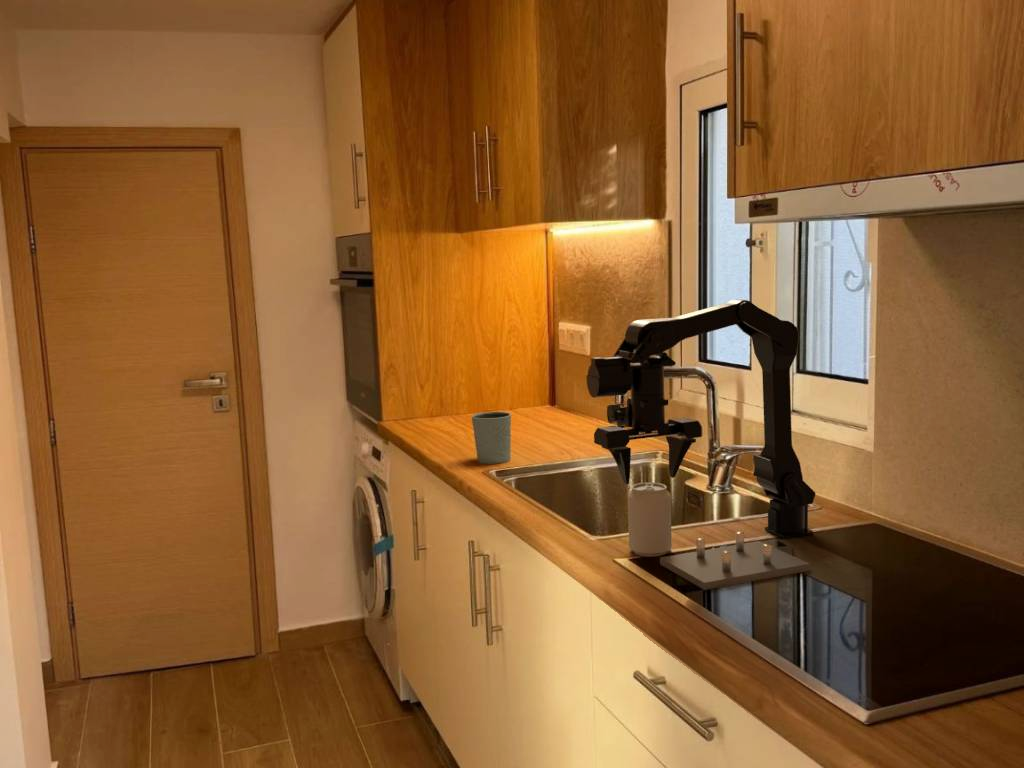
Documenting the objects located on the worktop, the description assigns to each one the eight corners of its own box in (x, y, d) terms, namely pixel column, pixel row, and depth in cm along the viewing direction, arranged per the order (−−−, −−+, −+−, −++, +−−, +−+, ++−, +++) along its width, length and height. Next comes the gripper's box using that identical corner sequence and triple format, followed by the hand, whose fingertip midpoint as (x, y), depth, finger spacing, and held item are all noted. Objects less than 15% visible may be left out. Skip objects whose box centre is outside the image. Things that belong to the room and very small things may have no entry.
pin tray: (759, 547, 173) (759, 523, 173) (809, 570, 160) (809, 544, 160) (660, 564, 166) (659, 539, 166) (704, 590, 153) (704, 563, 153)
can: (627, 557, 170) (626, 490, 169) (630, 544, 178) (629, 480, 176) (671, 558, 169) (670, 491, 167) (672, 545, 176) (671, 480, 175)
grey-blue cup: (516, 462, 249) (514, 416, 247) (477, 466, 247) (475, 419, 245) (508, 454, 258) (506, 410, 257) (470, 458, 256) (468, 413, 255)
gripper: (670, 382, 180) (671, 465, 182) (578, 392, 173) (581, 477, 176) (703, 390, 170) (704, 477, 172) (607, 400, 163) (610, 491, 165)
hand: (649, 480), depth 172 cm, fingers open, 9 cm apart
